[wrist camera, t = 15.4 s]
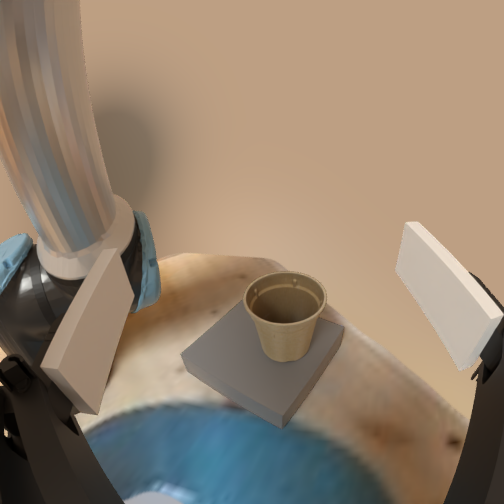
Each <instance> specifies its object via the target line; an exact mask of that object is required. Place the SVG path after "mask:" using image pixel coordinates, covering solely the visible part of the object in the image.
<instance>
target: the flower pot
mask: <svg viewBox="0 0 504 504" xmlns="http://www.w3.org/2000/svg"><path fill="white" fill-rule="evenodd" d="M326 301H327V294H326V290H325V288H324V287H323V285H322V284H321V283H320V282H319V281H318V280H316V279H314V278H313V277H311V276H309V275H306V274H303V273H299V272H292V271H281V272H273V273H269V274H266V275H263V276H261V277H259V278H257V279H255V280H254V281H253V282H251V284H249V286H248V287H247V288H246V290H245V292H244V295H243V303H244V307H245V309H246V311H247V312H248V313H249V315H250V316H251V318H252V319H253V320H254V322H255V326H256V329H257V332H258V335H259V338H260V342H261V346H262V349H263V351H264V353H265V354H266V355H267V356H268V357H269V358H271V359H272V360H275V361H278V362H287V361H296V360H298V359H300V358H302V357H303V356H304V355H305V354H306V353H307V351H308V349H309V346H310V342H311V338H312V335H313V331H314V328H315V324H316V321H317V318H318V317H319V315H320V313H321V312H322V311H323V309H324V307H325V305H326Z"/></svg>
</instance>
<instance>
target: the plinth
mask: <svg viewBox="0 0 504 504" xmlns="http://www.w3.org/2000/svg"><path fill="white" fill-rule="evenodd" d="M343 330H344V327H343V326H340V325H338V324H335V323H332V322H330V321H327V320H324V319H322V318H319V317H318V318H317V321H316V324H315V328H314V331H313V335H312V338H311V342H310V346H309V349H308V351H307V353H306V354H305V355H304V356H303V357H302V358H300V359H298V360H296V361H287V362H278V361H275V360H272V359H271V358H269V357H268V356H267V355H266V354H265V353H264V351H263V349H262V346H261V342H260V338H259V335H258V332H257V329H256V326H255V322H254V320H253V319H252V318H251V316H250V315H249V313H248V312H247V311H246V309H245V307H244V303H243V300H241V301H240V302H239V303H238V304H237V305H236V306H235V307H234V308H232V309H231V310H230V311H229V312H228V313H227V314H226V315H225V316H223V317H222V318H221V319H220V320H219V321H218V322H217V323H216V324H214V325H213V326H212V327H211V328H210V329H209V330H208V331H206V332H205V333H204V334H203V335H202V336H201V337H200V338H198V339H197V340H196V341H195V342H194V343H193V344H191V345H190V346H189V347H188V348H187V349H186V350H185V351H183V352H182V353H181V357H182V359H183V362H184V364H185V367H186V369H187V371H188V372H189V373H191V374H192V375H193V376H195V377H196V378H198V379H199V380H201V381H202V382H204V383H205V384H207V385H208V386H210V387H211V388H213V389H214V390H216V391H217V392H219V393H221V394H222V395H224V396H225V397H227V398H228V399H230V400H232V401H233V402H235V403H237V404H238V405H240V406H241V407H243V408H245V409H246V410H248V411H250V412H252V413H253V414H255V415H257V416H259V417H260V418H262V419H264V420H266V421H267V422H269V423H271V424H273V425H275V426H277V427H278V428H280V429H283V428H284V427H285V425H286V424H287V423H288V421H289V420H290V419H291V417H292V416H293V415H294V413H295V412H296V411H297V409H298V408H299V407H300V405H301V404H302V402H303V401H304V400H305V398H306V397H307V395H308V394H309V392H310V391H311V390H312V388H313V387H314V385H315V384H316V382H317V381H318V379H319V378H320V376H321V375H322V373H323V372H324V370H325V369H326V367H327V366H328V364H329V363H330V361H331V360H332V358H333V356H334V355H335V353H336V352H337V350H338V348H339V347H340V345H341V340H342V335H343Z"/></svg>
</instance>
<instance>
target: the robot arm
mask: <svg viewBox="0 0 504 504" xmlns="http://www.w3.org/2000/svg"><path fill="white" fill-rule="evenodd" d="M0 159H1V161H2V163H3V165H4V168H5V170H6V173H7V175H8V177H9V179H10V181H11V183H12V185H13V187H14V190H15V192H16V193H17V196H18V198H19V199H20V201H21V203H22V205H23V207H24V209H25V211H26V213H27V215H28V216H29V218H30V220H31V222H32V224H33V225H34V227H35V229H36V231H37V232H38V234H39V236H38V240H37V244H33V240H32V238H30V237H29V235H28V234H26V233H23V234H18V235H15V236H13V237H11V238H9V239H8V240H6V241H4V242H3V243H1V244H0V347H1V348H2V349H3V351H4V352H5V353H6V355H7V357H6V358H4V359H3V360H2V361H1V363H0V382H1V383H2V384H3V385H4V386H0V504H125V503H124V502H123V500H122V499H121V498H120V496H119V495H118V493H117V492H116V490H115V489H114V487H113V486H112V484H111V482H110V481H109V479H108V478H107V476H106V474H105V473H104V471H103V469H102V468H101V466H100V464H99V463H98V461H97V459H96V457H95V455H94V454H93V452H92V450H91V448H90V446H89V444H88V442H87V440H86V439H85V437H84V435H83V433H82V430H81V428H80V426H79V424H78V422H77V420H76V418H75V416H74V414H76V413H79V412H81V413H87V414H93V415H98V413H99V409H100V405H101V401H102V398H103V394H104V390H105V386H106V383H107V379H108V376H109V372H110V369H111V365H112V362H113V359H114V355H115V352H116V349H117V346H118V343H119V340H120V336H121V333H122V330H123V327H124V324H125V322H126V319H127V316H128V313H137V312H138V311H139V310H140V309H143V308H146V307H148V306H151V305H153V304H155V303H156V302H157V301H158V299H159V297H160V294H161V281H160V273H159V267H158V263H157V261H156V259H157V258H156V251H155V245H154V241H153V236H152V233H151V228H150V225H149V222H148V219H147V216H146V215H145V213H144V212H142V211H132V209H131V208H130V206H129V204H128V203H127V202H126V201H125V200H124V199H123V198H121V197H119V196H117V195H115V194H113V193H112V190H111V187H110V183H109V179H108V176H107V172H106V168H105V164H104V160H103V156H102V152H101V147H100V143H99V139H98V134H97V130H96V125H95V120H94V116H93V110H92V105H91V99H90V93H89V88H88V81H87V74H86V67H85V59H84V51H83V42H82V30H81V16H80V0H0ZM395 271H396V273H397V274H398V275H399V277H400V278H401V280H402V281H403V283H404V284H405V285H406V287H407V288H408V290H409V291H410V293H411V294H412V296H413V297H414V298H415V300H416V301H417V303H418V304H419V306H420V308H421V309H422V310H423V312H424V314H425V315H426V317H427V318H428V320H429V321H430V323H431V325H432V326H433V328H434V329H435V330H436V332H437V334H438V336H439V337H440V339H441V341H442V342H443V344H444V346H445V347H446V349H447V351H448V352H449V354H450V356H451V358H452V359H453V361H454V363H455V365H456V366H457V368H458V370H459V371H461V370H464V369H466V368H469V367H471V366H473V364H474V363H475V361H476V360H477V359H478V357H479V356H480V357H481V359H482V360H483V361H482V362H481V364H480V365H479V367H478V368H477V370H476V371H475V372H474V374H473V375H472V377H471V380H473V379H474V378H475V377H476V375H477V374H478V378H477V380H476V381H477V387H476V393H475V399H474V404H473V409H472V414H471V419H470V423H469V427H468V432H467V436H466V439H465V443H464V447H463V450H462V454H461V457H460V460H459V463H458V466H457V469H456V472H455V475H454V478H453V481H452V483H451V486H450V489H449V491H448V494H447V496H446V499H445V501H444V503H443V504H504V307H503V306H502V305H501V304H500V302H499V301H498V300H497V299H496V298H495V296H494V295H493V294H491V292H490V291H489V289H488V288H486V287H485V285H484V284H483V282H482V281H481V280H480V279H479V278H478V277H476V276H475V275H473V274H472V273H470V272H468V271H467V270H466V269H465V268H464V267H463V266H462V265H461V264H460V263H459V262H458V261H457V260H456V259H455V257H454V256H453V255H452V254H451V253H450V252H449V251H448V250H447V249H446V248H445V247H444V246H443V245H442V244H441V243H440V242H439V241H438V240H437V239H435V237H434V236H433V235H432V234H430V233H429V232H428V231H427V230H426V229H425V228H424V227H423V226H422V225H421V224H420V223H419V222H405V226H404V232H403V237H402V242H401V246H400V251H399V256H398V260H397V264H396V269H395ZM4 429H5V430H7V431H8V437H6V436H5V435H4Z"/></svg>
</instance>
